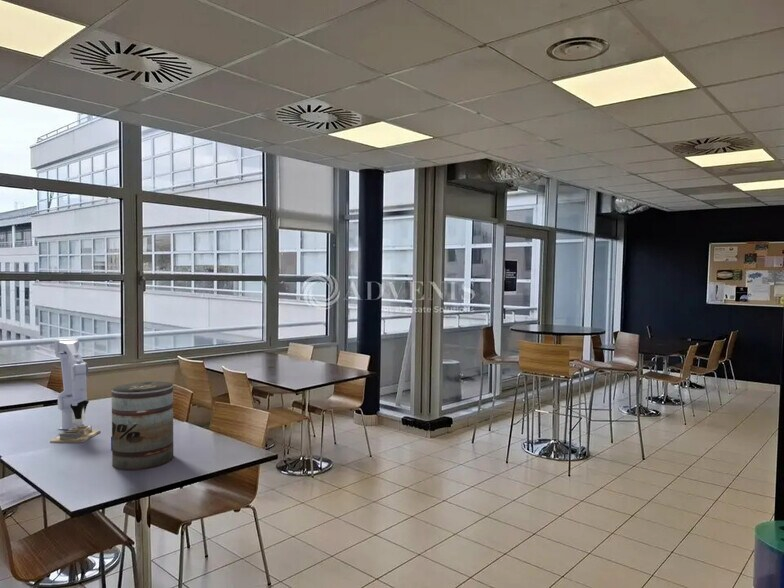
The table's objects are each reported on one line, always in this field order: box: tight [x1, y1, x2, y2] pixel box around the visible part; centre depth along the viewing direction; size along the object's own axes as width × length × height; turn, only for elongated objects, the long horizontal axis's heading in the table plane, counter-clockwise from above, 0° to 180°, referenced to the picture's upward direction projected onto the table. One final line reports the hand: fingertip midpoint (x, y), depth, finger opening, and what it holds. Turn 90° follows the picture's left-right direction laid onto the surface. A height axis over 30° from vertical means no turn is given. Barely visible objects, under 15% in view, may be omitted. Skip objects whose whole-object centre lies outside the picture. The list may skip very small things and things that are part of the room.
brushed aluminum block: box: [72, 407, 86, 423], centre depth 252 cm, size 4×4×7 cm
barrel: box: [111, 380, 174, 471], centre depth 217 cm, size 22×22×30 cm
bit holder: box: [49, 425, 101, 444], centre depth 249 cm, size 16×14×4 cm
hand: (79, 417), depth 252 cm, fingers closed on brushed aluminum block, 4 cm apart
